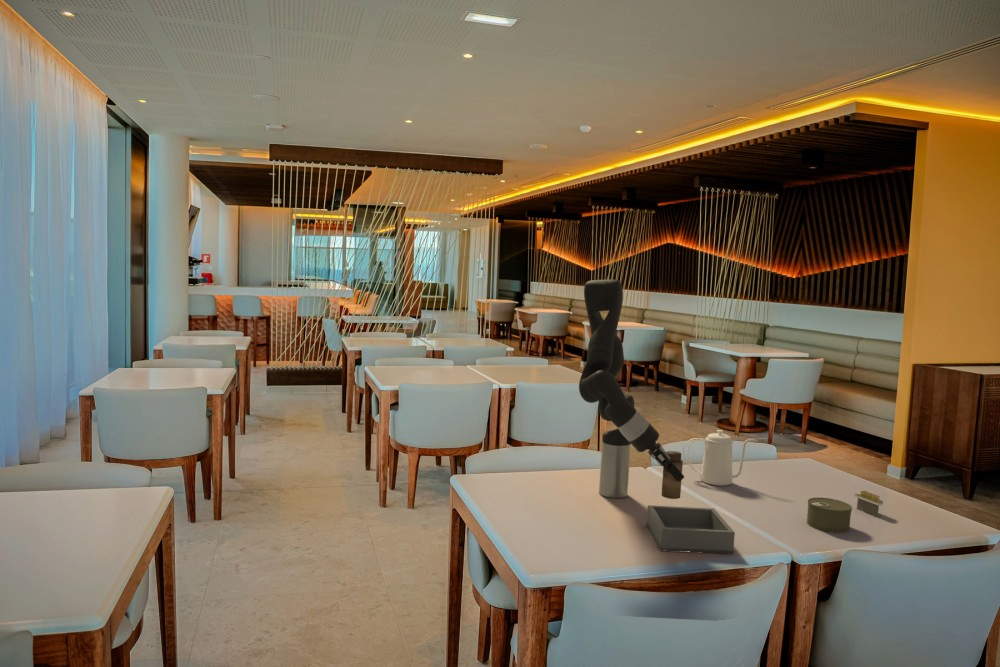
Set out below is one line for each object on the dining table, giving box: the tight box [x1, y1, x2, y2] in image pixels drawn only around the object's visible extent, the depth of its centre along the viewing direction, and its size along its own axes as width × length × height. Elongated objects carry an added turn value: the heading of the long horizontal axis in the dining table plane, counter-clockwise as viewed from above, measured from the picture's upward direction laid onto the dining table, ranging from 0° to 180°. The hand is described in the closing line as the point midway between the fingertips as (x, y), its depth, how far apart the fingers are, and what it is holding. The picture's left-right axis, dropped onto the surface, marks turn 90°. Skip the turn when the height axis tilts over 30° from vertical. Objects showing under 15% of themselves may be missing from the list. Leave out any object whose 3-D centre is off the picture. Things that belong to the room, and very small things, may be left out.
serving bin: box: [646, 504, 736, 555], centre depth 198 cm, size 19×19×6 cm
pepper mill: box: [661, 450, 684, 500], centre depth 196 cm, size 5×5×12 cm
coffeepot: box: [682, 429, 759, 487], centre depth 255 cm, size 11×25×19 cm, turn 71°
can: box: [806, 497, 853, 534], centre depth 215 cm, size 12×12×7 cm
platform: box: [853, 490, 884, 518], centre depth 229 cm, size 12×18×7 cm, turn 21°
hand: (679, 476), depth 196 cm, fingers closed on pepper mill, 5 cm apart
